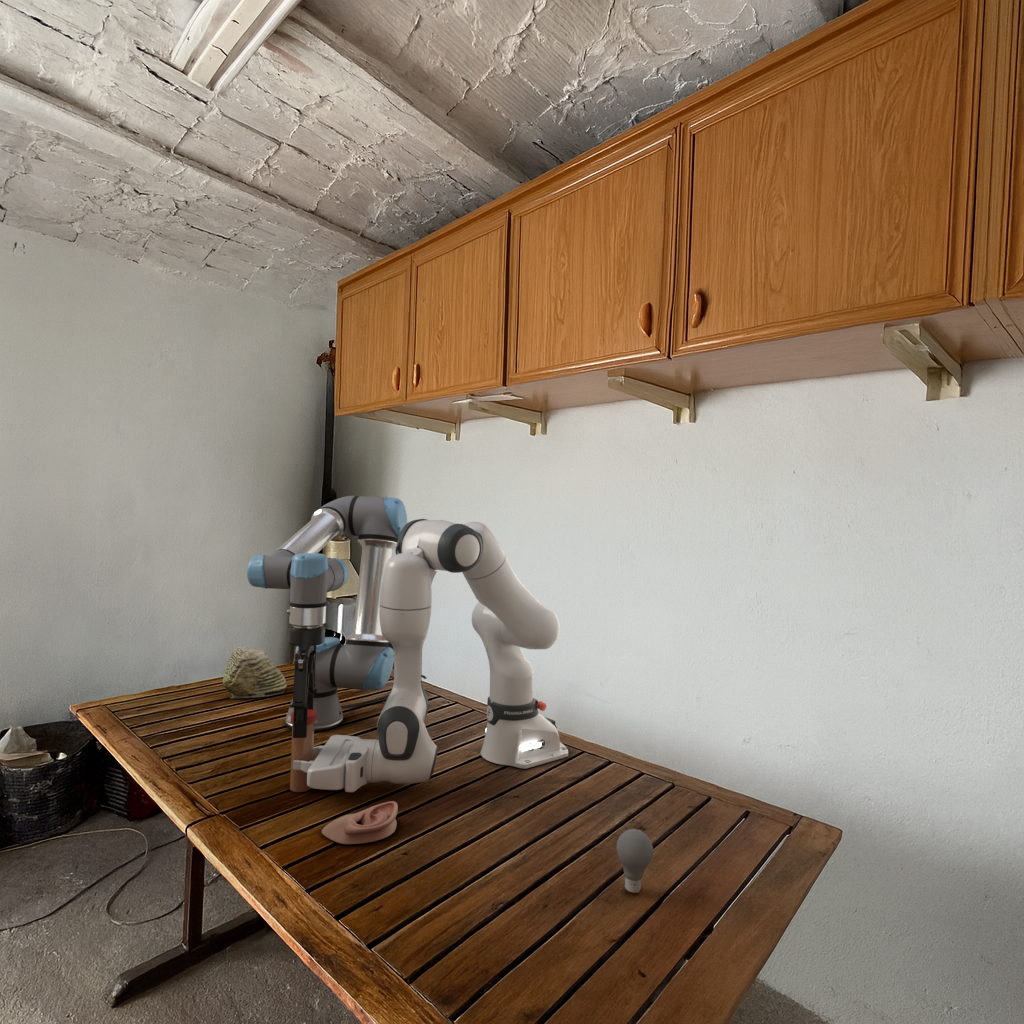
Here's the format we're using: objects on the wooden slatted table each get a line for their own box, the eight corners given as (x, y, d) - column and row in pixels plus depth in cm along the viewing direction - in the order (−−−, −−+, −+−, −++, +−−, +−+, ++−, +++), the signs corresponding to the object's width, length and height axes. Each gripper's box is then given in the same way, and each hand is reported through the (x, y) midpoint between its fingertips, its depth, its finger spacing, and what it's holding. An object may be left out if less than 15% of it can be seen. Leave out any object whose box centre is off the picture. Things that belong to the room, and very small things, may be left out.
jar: (285, 787, 137) (288, 714, 137) (305, 780, 141) (307, 710, 141) (296, 794, 134) (299, 720, 134) (316, 787, 138) (318, 715, 137)
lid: (285, 719, 137) (286, 712, 137) (308, 714, 141) (308, 707, 141) (298, 726, 134) (298, 719, 134) (321, 720, 138) (321, 713, 138)
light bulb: (610, 879, 108) (613, 822, 108) (644, 879, 109) (647, 822, 109) (619, 902, 102) (622, 840, 102) (655, 901, 103) (658, 840, 103)
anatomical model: (313, 818, 117) (342, 790, 128) (313, 839, 117) (341, 810, 128) (381, 829, 114) (404, 800, 125) (380, 850, 114) (403, 819, 125)
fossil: (218, 695, 195) (220, 647, 195) (278, 685, 208) (279, 640, 207) (228, 703, 189) (230, 653, 188) (289, 692, 201) (290, 645, 201)
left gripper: (297, 616, 146) (293, 714, 147) (279, 634, 126) (274, 748, 127) (331, 616, 148) (327, 714, 148) (318, 635, 128) (313, 748, 128)
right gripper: (371, 728, 148) (312, 726, 148) (352, 765, 128) (283, 763, 127) (370, 755, 148) (311, 753, 148) (351, 796, 128) (281, 794, 127)
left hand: (303, 730), depth 137 cm, fingers open, 7 cm apart
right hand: (297, 758), depth 137 cm, fingers closed on jar, 4 cm apart
